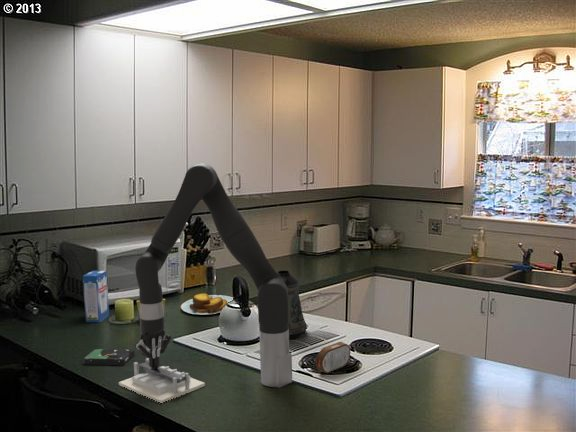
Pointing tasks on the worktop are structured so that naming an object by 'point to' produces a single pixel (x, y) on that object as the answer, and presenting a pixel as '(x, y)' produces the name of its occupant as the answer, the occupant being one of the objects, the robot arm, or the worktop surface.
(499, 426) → the worktop surface
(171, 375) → the strap
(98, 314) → the milk carton
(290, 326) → the beer stein
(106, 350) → the disk drive
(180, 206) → the robot arm
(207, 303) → the food on plate
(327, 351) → the tin
